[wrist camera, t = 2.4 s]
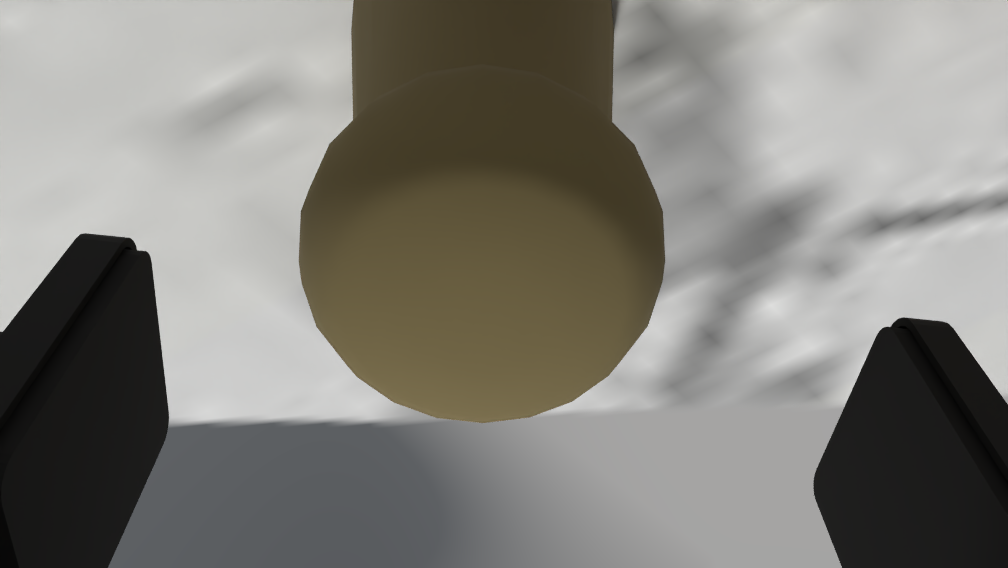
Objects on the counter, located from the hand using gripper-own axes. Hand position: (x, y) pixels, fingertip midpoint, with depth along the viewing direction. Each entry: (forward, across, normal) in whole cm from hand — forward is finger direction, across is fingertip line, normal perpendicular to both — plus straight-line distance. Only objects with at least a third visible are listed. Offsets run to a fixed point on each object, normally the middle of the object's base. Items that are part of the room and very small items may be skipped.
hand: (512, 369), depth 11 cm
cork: (+11, +1, -1) cm, 11 cm away
